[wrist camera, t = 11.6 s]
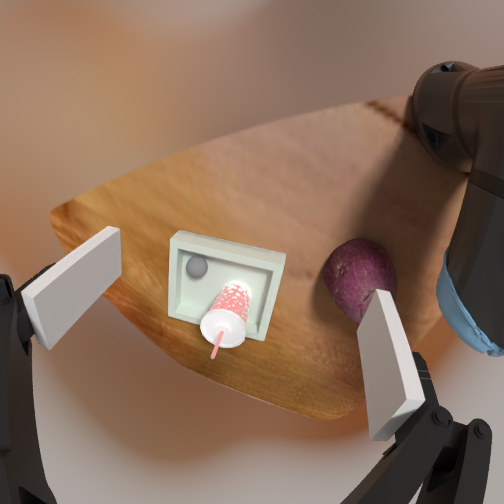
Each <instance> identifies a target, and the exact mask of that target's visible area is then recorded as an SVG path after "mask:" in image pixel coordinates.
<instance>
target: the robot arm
mask: <svg viewBox="0 0 504 504" xmlns="http://www.w3.org/2000/svg"><path fill="white" fill-rule="evenodd" d="M412 117H413V122H414V126H415V129H416V132H417V134H418V137H419V139H420V141H421V142H422V144H423V146H424V147H425V148H426V150H427V151H428V152H429V153H430V154H431V155H432V156H433V157H434V158H435V159H436V160H437V161H439V162H440V163H442V164H443V165H445V166H447V167H450V168H452V169H454V170H457V171H461V172H470V175H469V180H468V183H467V187H466V191H465V195H464V199H463V203H462V206H461V210H460V213H459V217H458V220H457V223H456V227H455V230H454V233H453V236H452V238H451V241H450V244H449V247H448V248H447V250H446V251H445V254H444V259H443V266H442V269H441V272H440V275H439V278H438V281H437V286H436V295H437V299H438V303H439V308H440V310H441V312H442V314H443V316H444V318H445V320H446V321H447V323H448V324H449V326H450V327H451V328H452V329H453V331H454V332H455V333H456V334H457V335H458V336H459V337H460V338H461V339H462V340H463V341H464V342H465V343H467V344H468V345H469V346H470V347H472V348H473V349H475V350H476V351H479V352H480V353H485V352H487V353H488V355H489V356H494V357H498V356H502V355H504V65H501V66H495V67H489V68H483V69H480V68H478V67H475V66H472V65H470V64H467V63H464V62H459V61H449V62H443V63H440V64H437V65H434V66H432V67H430V68H429V69H428V70H426V71H425V72H424V73H423V74H422V76H421V77H420V78H419V80H418V82H417V84H416V86H415V89H414V92H413V97H412ZM121 274H122V269H121V248H120V229H118V228H114V227H110V226H108V227H106V228H105V229H103V230H102V231H100V232H99V233H97V234H96V235H95V236H93V237H92V238H90V239H89V240H87V241H86V242H85V243H83V244H82V245H81V246H79V247H78V248H76V249H75V250H74V251H72V252H71V253H70V254H68V255H67V256H66V257H64V258H63V259H62V260H60V261H59V262H58V263H53V264H51V265H49V266H46V267H45V268H44V269H42V270H41V271H40V272H39V274H36V275H35V276H33V278H31V279H30V280H28V281H27V282H26V283H25V284H23V285H22V286H21V287H20V288H18V289H17V290H16V291H15V292H14V289H13V285H12V281H11V278H10V277H9V275H6V274H0V504H57V502H56V499H55V497H54V495H53V493H52V491H51V489H50V488H49V486H48V484H47V481H46V478H45V474H44V469H43V465H42V460H41V454H40V448H39V442H38V435H37V428H36V420H35V410H34V399H33V385H32V384H33V383H32V343H31V339H30V338H31V337H32V335H33V334H35V336H36V339H37V342H38V344H40V345H42V346H43V347H45V348H47V349H49V350H51V349H52V348H53V346H54V345H55V344H56V343H57V342H58V341H59V340H60V338H61V337H62V336H63V335H64V334H65V333H66V332H67V331H68V330H69V328H70V327H71V326H72V325H73V324H74V323H75V322H76V321H77V320H78V319H79V318H80V316H81V315H82V314H83V313H84V312H85V311H86V310H87V309H88V308H89V307H90V306H91V305H92V304H93V303H94V301H96V300H97V299H98V297H99V296H100V295H101V294H102V293H103V292H104V291H105V290H106V289H107V288H108V287H109V286H110V285H111V284H112V283H113V282H114V281H115V280H116V279H117V278H118V277H119V276H120V275H121ZM357 338H358V344H359V350H360V357H361V364H362V372H363V379H364V387H365V396H366V405H367V415H368V424H369V437H370V441H387V440H389V439H390V438H391V437H392V436H393V434H395V439H396V442H395V443H394V444H393V445H392V446H391V447H390V448H388V449H387V450H386V451H385V452H384V453H383V455H384V456H383V457H382V458H381V460H380V461H379V462H378V463H377V464H376V466H375V467H374V468H373V469H372V470H371V472H370V473H369V474H368V475H367V476H366V477H365V478H364V479H363V480H362V482H361V483H360V484H359V485H358V486H357V487H356V488H355V489H354V490H353V491H352V492H351V493H350V494H349V496H347V497H346V498H345V499H344V500H343V501H342V502H341V503H340V504H408V503H409V502H410V501H411V499H412V498H413V496H414V495H415V493H416V492H417V490H418V489H419V487H420V486H421V484H422V483H423V485H422V488H421V490H420V493H419V496H418V499H417V501H416V504H483V500H484V495H485V489H486V484H487V478H488V471H489V464H490V455H491V444H492V431H491V429H490V426H489V425H488V424H487V423H486V422H485V421H484V420H482V419H473V420H472V421H471V422H470V423H469V424H468V425H464V424H461V423H458V422H455V421H453V417H452V415H451V414H450V412H449V411H448V410H447V409H445V408H444V407H442V406H439V403H438V400H437V396H436V393H435V390H434V387H433V383H432V380H430V379H431V377H430V374H429V372H428V368H427V365H426V362H425V360H424V359H423V358H422V356H421V355H420V354H419V353H418V352H412V351H411V350H410V347H409V344H408V341H407V338H406V335H405V332H404V329H403V326H402V323H401V320H400V318H399V315H398V312H397V309H396V307H395V304H394V301H393V299H392V296H391V294H390V292H388V291H384V290H379V289H376V290H375V293H374V295H373V297H372V299H371V302H370V304H369V306H368V308H367V311H366V313H365V315H364V317H363V319H362V321H361V323H360V325H359V327H358V330H357ZM423 481H424V482H423Z"/></svg>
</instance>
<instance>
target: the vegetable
mask: <svg viewBox="0 0 504 504" xmlns="http://www.w3.org/2000/svg"><path fill="white" fill-rule="evenodd" d="M324 279H325V282H326V285H327V287H328V289H329V291H330V293H331V295H332V296H333V298H334V300H335V301H336V304H337V305H338V307H339V308H340V309H341V310H342V311H343V312H344V313H345V314H346V315H347V316H348V317H349V318H351V319H352V320H353V321H355V322H356V323H359V324H360V323H361V321H362V319H363V317H364V315H365V313H366V311H367V308H368V306H369V304H370V302H371V299H372V297H373V295H374V293H375V290H376V289H379V290H384V291H388V292H390V294H391V296H392V299H393V301H394V304H395V307H396V309H397V306H396V295H397V279H396V274H395V270H394V267H393V265H392V262H391V260H390V258H389V256H388V254H387V253H386V251H385V250H384V248H383V247H382V246H380V245H379V244H377V243H374V242H372V241H368V240H365V239H361V238H360V239H354V240H351V241H348V242H346V243H344V244H342V245H341V246H339V247H338V248H336V249H335V250H334V251H333V252H332V254H331V256H330V257H329V259H328V261H327V263H326V265H325V267H324ZM397 312H398V309H397ZM398 315H399V312H398ZM399 318H400V317H399Z"/></svg>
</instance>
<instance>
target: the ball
mask: <svg viewBox="0 0 504 504" xmlns="http://www.w3.org/2000/svg"><path fill="white" fill-rule="evenodd" d="M186 270H187V273H188V274H189V275H190V276H191V277H193V278H201V277H203V276H204V275H205V274H206V273H207V270H208V264H207V262H206V260H205V259H204V258H202V257H200V256H194V257H191V258H190V259H189V260H188V261H187V264H186Z"/></svg>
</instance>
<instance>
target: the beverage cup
mask: <svg viewBox="0 0 504 504" xmlns="http://www.w3.org/2000/svg"><path fill="white" fill-rule="evenodd" d="M251 296H252V295H251V290H250V289H249V287H248V286H247V285H246V284H244V283H243V282H239V281H230V282H228V283H226V284H225V285H224V287H223V288H222V290H221V292H220V293H219V295H218V297H217V298H216V300H215V302H214V303H213V305H212V307H211V308H210V310H209V312H207V313H206V314H205V316H204V317H203V319H202V320H201V325H200V329H201V332H202V335H203V336H204V337H205V338H206V339H207V340H208V341H209V342H211V343H212V344H214V345H215V347H214V349H213V352H212V355H211V359H214V358H215V355H216V353H217V350H218V347H223V348H233V347H236V346H238V345H240V344H241V343H242V342H243V341H244V339H245V336H246V331H247V329H246V322H247V317H248V311H249V306H250V301H251Z"/></svg>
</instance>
